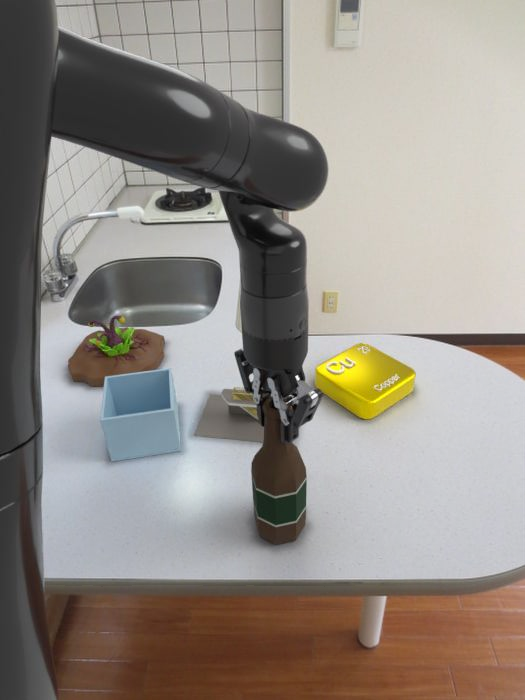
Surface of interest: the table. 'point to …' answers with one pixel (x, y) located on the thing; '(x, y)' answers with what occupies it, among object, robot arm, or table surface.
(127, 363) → the plant
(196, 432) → the platform
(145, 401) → the case
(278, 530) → the beer bottle
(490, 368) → the table surface
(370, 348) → the element tile
